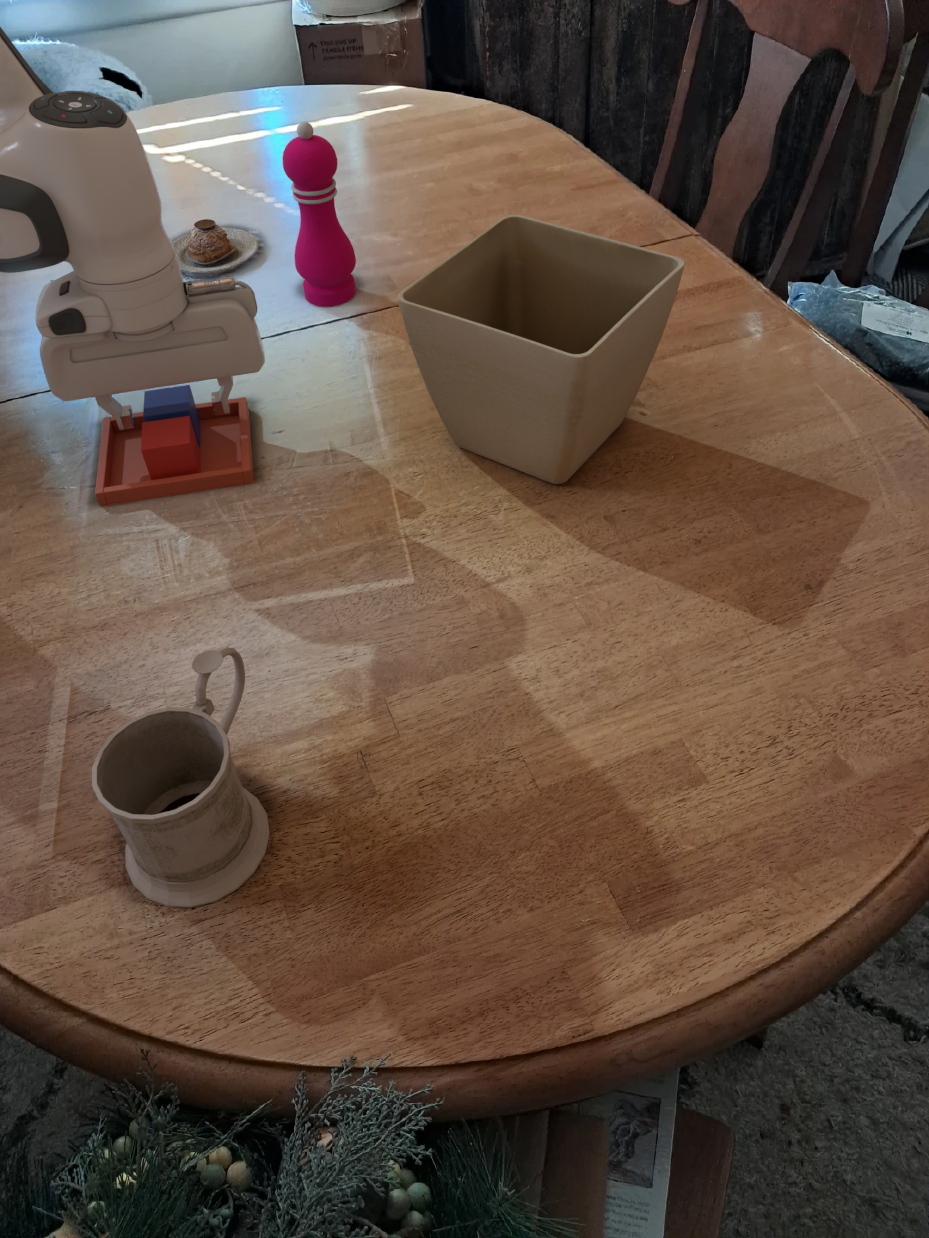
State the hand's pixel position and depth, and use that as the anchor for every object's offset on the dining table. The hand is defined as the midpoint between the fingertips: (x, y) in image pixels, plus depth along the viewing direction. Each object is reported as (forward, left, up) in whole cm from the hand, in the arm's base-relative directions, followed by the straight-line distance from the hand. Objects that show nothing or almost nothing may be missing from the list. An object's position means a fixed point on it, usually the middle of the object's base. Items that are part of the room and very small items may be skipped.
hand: (175, 418), depth 99 cm
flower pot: (+36, -8, -3) cm, 37 cm away
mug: (+3, -46, -3) cm, 46 cm away
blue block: (0, 0, -2) cm, 2 cm away
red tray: (0, -3, -3) cm, 4 cm away
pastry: (+4, +40, -3) cm, 40 cm away
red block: (0, -6, -2) cm, 6 cm away
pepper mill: (+18, +26, -3) cm, 32 cm away
